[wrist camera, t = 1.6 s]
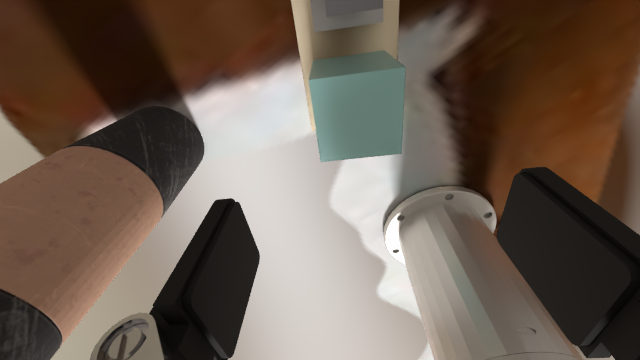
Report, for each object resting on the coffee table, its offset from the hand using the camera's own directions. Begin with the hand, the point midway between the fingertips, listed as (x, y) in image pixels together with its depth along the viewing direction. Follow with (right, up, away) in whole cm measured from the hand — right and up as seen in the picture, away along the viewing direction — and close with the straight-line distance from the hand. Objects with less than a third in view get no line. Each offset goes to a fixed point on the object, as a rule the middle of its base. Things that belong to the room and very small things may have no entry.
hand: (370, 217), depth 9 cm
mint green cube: (+1, +9, +13) cm, 16 cm away
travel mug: (-17, +5, +17) cm, 24 cm away
